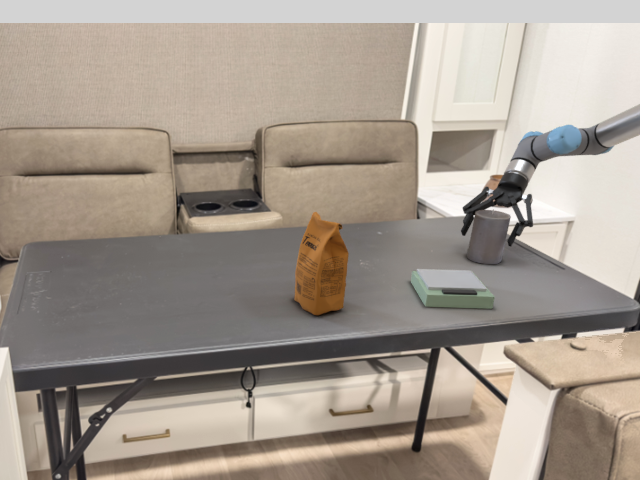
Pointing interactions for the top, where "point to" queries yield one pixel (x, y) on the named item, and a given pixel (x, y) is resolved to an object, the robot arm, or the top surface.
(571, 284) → the top surface
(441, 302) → the scale
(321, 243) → the coffee package
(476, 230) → the pillar candle
